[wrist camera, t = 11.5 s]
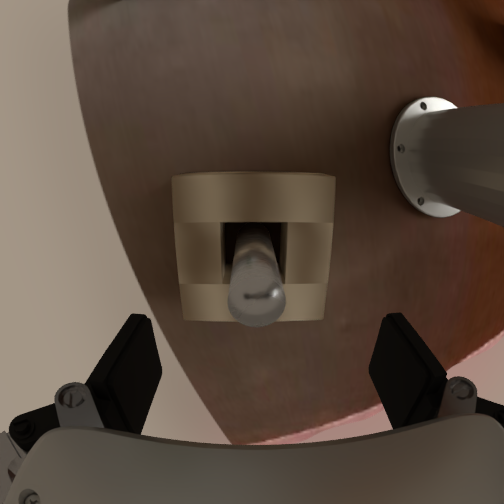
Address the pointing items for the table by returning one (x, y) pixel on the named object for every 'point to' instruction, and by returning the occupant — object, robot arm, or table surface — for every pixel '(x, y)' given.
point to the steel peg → (255, 278)
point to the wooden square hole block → (253, 210)
